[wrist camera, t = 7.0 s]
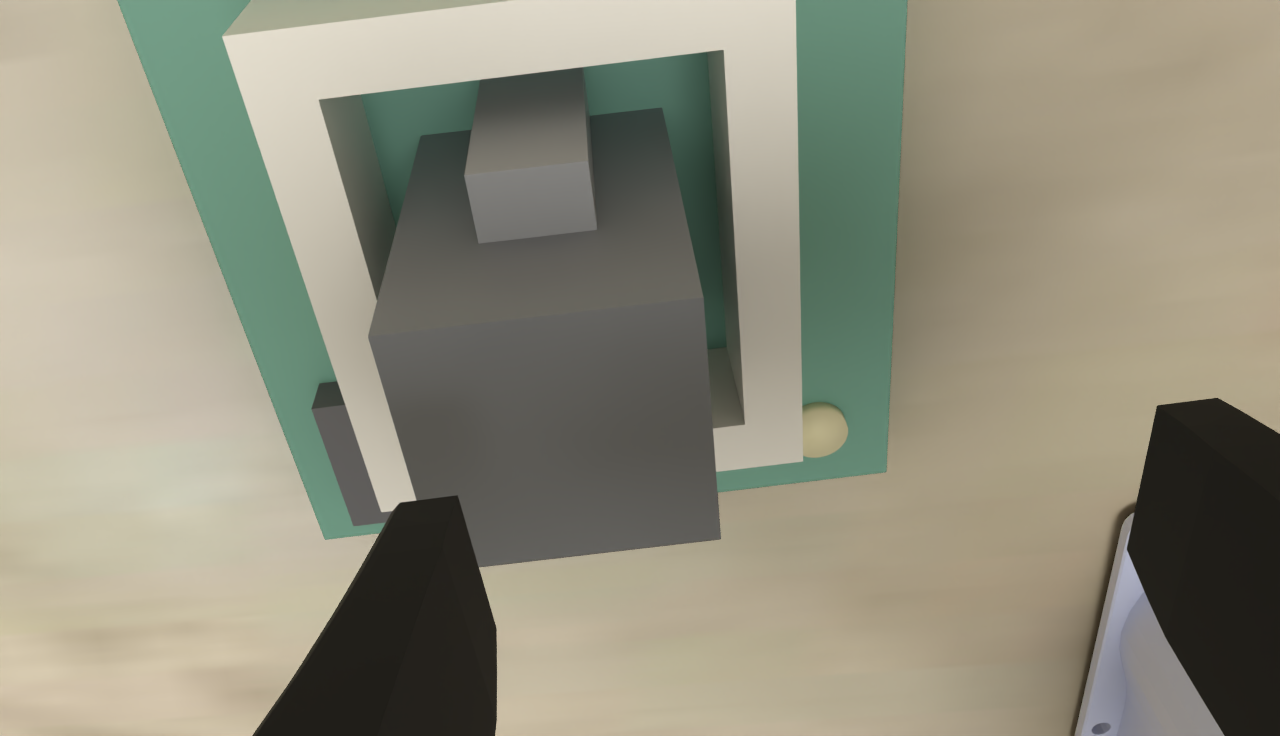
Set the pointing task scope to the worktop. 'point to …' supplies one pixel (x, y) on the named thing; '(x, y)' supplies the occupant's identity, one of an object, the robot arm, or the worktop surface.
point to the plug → (550, 329)
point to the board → (826, 103)
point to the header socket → (506, 46)
